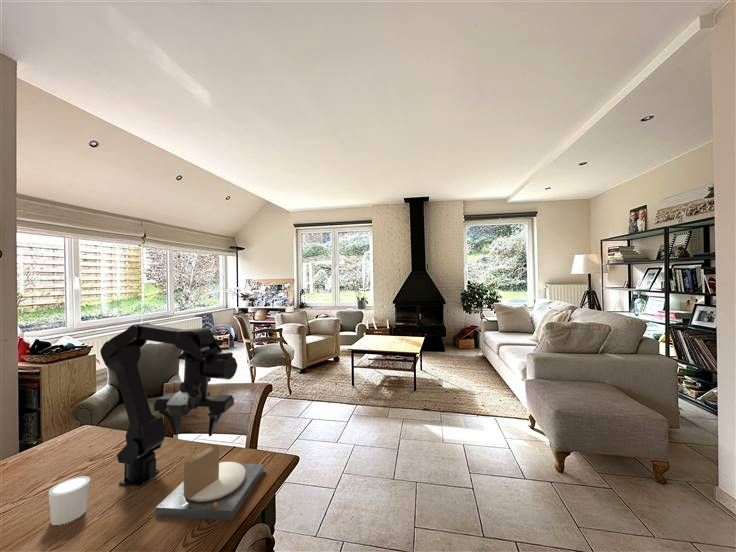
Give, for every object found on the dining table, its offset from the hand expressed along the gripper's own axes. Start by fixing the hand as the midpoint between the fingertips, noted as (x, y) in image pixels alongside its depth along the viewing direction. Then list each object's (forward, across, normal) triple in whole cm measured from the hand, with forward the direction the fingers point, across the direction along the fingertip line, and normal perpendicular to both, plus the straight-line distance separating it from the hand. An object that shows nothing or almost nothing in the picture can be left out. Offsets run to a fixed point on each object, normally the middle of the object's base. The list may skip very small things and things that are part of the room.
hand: (193, 435), depth 80 cm
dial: (+11, +8, -3) cm, 13 cm away
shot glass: (+14, -22, -11) cm, 28 cm away
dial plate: (+13, +8, -2) cm, 15 cm away
